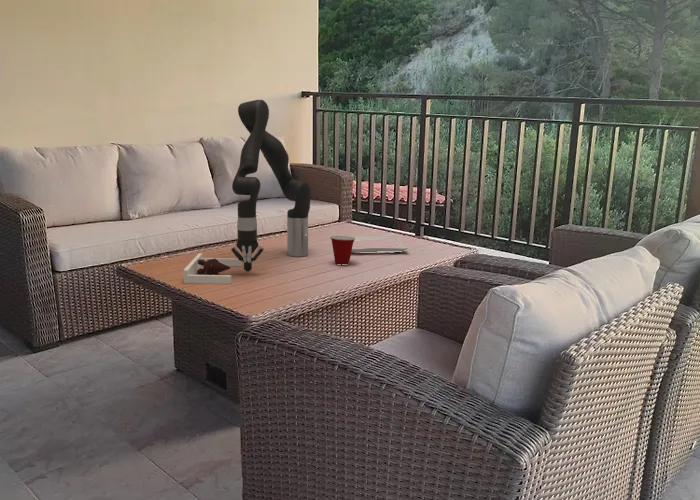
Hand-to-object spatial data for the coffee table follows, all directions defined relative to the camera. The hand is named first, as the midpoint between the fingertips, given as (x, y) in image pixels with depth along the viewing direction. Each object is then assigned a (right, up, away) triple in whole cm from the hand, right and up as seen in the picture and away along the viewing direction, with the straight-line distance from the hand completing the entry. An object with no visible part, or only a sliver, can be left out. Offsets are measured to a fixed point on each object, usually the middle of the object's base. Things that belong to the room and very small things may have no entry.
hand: (247, 271), depth 250 cm
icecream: (-13, -2, -2) cm, 13 cm away
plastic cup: (+37, +2, +21) cm, 42 cm away
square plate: (+51, +8, +50) cm, 72 cm away
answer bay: (-12, -1, 0) cm, 12 cm away
